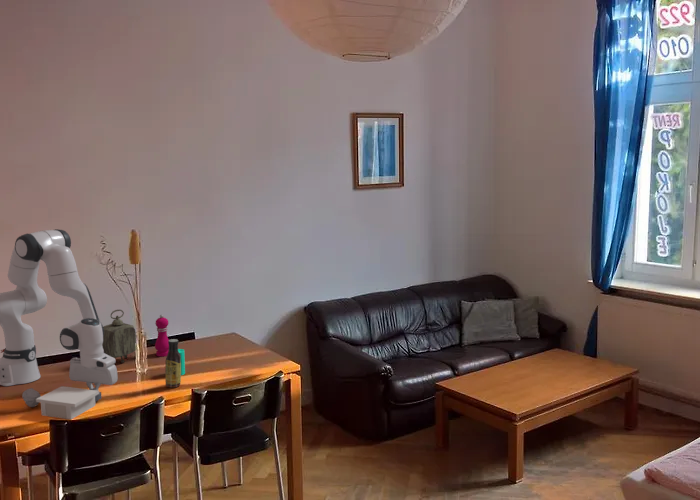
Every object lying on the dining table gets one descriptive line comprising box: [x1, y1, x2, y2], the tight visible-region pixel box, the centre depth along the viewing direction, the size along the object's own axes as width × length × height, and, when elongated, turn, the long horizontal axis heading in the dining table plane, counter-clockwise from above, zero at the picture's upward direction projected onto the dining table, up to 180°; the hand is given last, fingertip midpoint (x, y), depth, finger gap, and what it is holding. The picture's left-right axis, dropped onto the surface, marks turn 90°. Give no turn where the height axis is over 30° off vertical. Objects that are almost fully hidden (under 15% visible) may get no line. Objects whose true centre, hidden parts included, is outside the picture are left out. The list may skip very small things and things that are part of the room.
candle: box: [178, 348, 186, 376], centre depth 294 cm, size 6×6×12 cm
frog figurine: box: [21, 388, 42, 408], centre depth 256 cm, size 6×7×7 cm
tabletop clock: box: [102, 309, 137, 364], centre depth 307 cm, size 14×9×25 cm, turn 145°
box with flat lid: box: [36, 385, 100, 420], centre depth 252 cm, size 17×14×6 cm
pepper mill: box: [154, 314, 170, 357], centre depth 320 cm, size 7×7×20 cm
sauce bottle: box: [164, 338, 182, 389], centre depth 278 cm, size 7×6×20 cm
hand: (94, 392), depth 267 cm, fingers closed
